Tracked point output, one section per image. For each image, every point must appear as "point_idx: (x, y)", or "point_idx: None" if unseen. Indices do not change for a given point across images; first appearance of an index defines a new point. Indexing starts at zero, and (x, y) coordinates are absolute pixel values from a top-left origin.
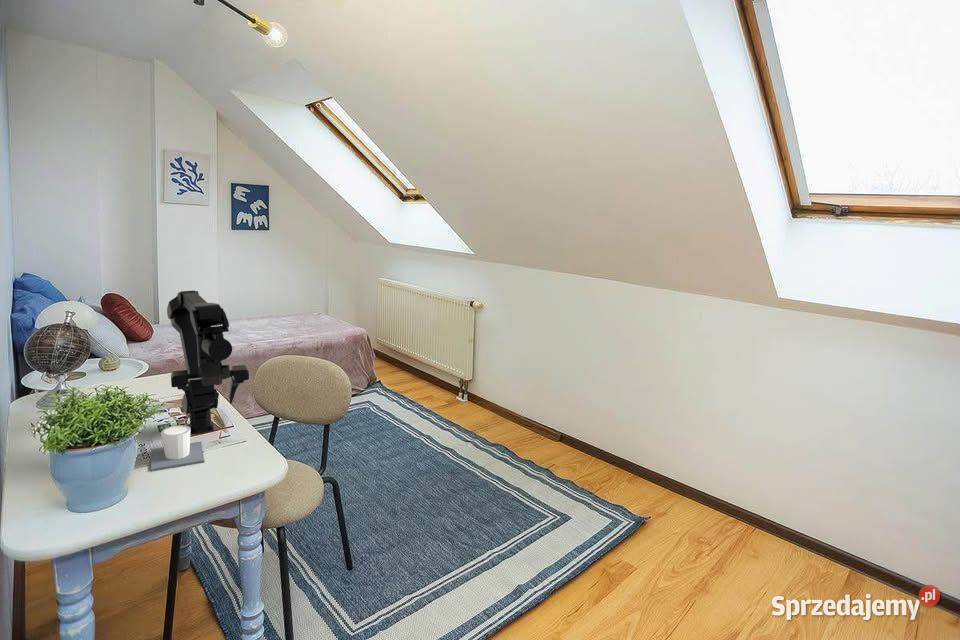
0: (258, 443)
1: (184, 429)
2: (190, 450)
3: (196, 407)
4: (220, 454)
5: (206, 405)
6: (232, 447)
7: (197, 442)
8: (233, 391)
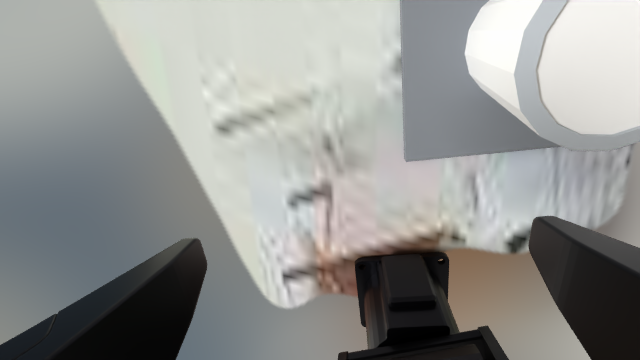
0: (158, 88)
1: (560, 59)
2: (458, 73)
3: (448, 348)
4: (319, 7)
5: (393, 358)
6: (269, 76)
7: (422, 154)
8: (51, 330)
